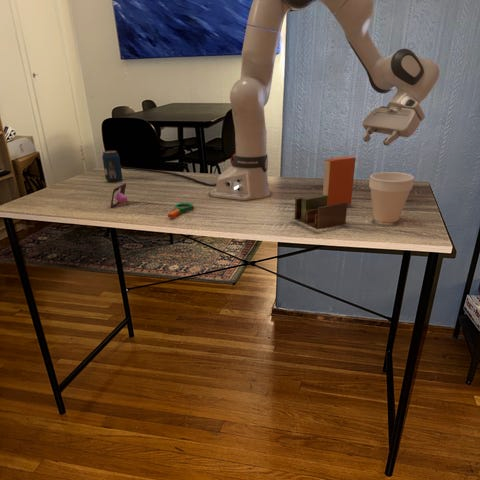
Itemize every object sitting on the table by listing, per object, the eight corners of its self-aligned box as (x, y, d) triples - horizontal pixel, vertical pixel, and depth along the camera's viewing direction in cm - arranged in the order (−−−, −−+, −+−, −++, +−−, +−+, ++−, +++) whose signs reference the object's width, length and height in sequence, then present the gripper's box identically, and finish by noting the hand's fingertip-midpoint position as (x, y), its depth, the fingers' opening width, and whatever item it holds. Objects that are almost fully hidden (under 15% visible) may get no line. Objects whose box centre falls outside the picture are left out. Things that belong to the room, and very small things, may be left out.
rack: (293, 222, 140) (293, 197, 137) (321, 216, 145) (323, 192, 141) (316, 233, 131) (318, 206, 127) (346, 226, 136) (348, 200, 132)
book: (321, 209, 152) (324, 159, 144) (344, 204, 156) (349, 156, 148) (326, 211, 149) (330, 161, 141) (350, 206, 153) (355, 157, 145)
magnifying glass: (179, 205, 159) (179, 200, 158) (195, 206, 157) (195, 201, 156) (161, 218, 146) (161, 213, 145) (179, 219, 145) (178, 214, 144)
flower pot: (413, 221, 139) (421, 175, 132) (395, 231, 131) (402, 183, 124) (376, 213, 146) (382, 170, 139) (357, 223, 138) (362, 177, 131)
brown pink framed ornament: (123, 182, 163) (111, 188, 156) (136, 187, 163) (125, 194, 155) (120, 199, 167) (108, 206, 159) (133, 205, 167) (121, 212, 159)
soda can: (118, 178, 200) (113, 149, 194) (125, 180, 195) (121, 151, 189) (103, 181, 196) (98, 151, 190) (110, 183, 191) (105, 153, 185)
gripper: (374, 99, 155) (349, 132, 156) (421, 102, 139) (393, 139, 140) (382, 112, 159) (357, 144, 160) (429, 117, 143) (401, 153, 144)
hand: (374, 142), depth 150 cm, fingers open, 8 cm apart
